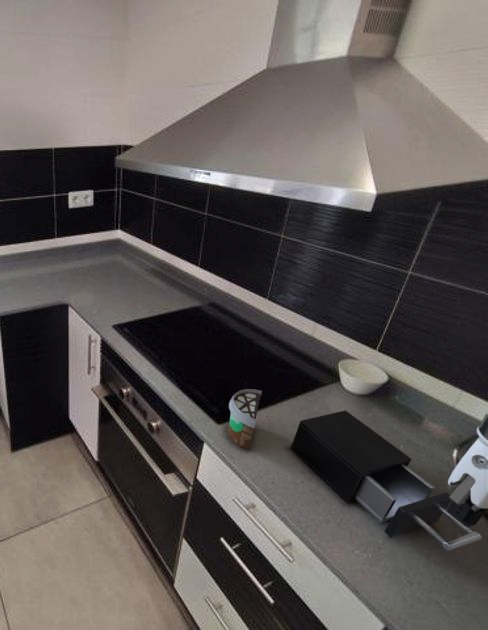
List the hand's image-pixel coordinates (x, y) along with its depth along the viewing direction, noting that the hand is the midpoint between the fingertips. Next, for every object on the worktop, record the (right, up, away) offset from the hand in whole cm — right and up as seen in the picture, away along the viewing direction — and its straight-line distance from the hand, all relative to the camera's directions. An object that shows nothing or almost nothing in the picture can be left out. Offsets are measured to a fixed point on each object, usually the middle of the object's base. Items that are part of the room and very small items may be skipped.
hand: (460, 517), depth 63 cm
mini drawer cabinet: (-5, 0, +20) cm, 21 cm away
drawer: (-2, -4, +10) cm, 11 cm away
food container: (-24, +5, +30) cm, 38 cm away
